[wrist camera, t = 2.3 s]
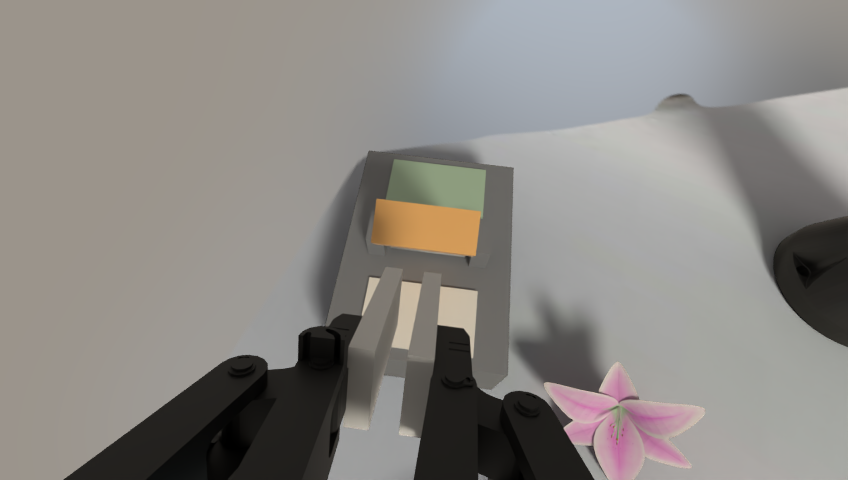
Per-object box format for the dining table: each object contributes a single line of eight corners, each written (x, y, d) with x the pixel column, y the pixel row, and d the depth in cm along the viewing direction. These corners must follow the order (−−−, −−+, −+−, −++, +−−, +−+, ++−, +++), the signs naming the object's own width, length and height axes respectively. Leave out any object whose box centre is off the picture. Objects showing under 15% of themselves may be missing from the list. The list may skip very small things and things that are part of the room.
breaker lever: (463, 259, 39) (478, 256, 25) (391, 250, 39) (367, 242, 25) (467, 230, 39) (484, 211, 25) (395, 221, 40) (373, 198, 26)
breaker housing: (491, 389, 41) (515, 367, 31) (334, 368, 42) (311, 340, 32) (499, 207, 51) (520, 149, 42) (374, 192, 52) (366, 131, 42)
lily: (520, 373, 43) (528, 410, 33) (621, 317, 41) (660, 339, 32) (582, 476, 42) (610, 544, 32) (689, 423, 40) (750, 478, 31)
